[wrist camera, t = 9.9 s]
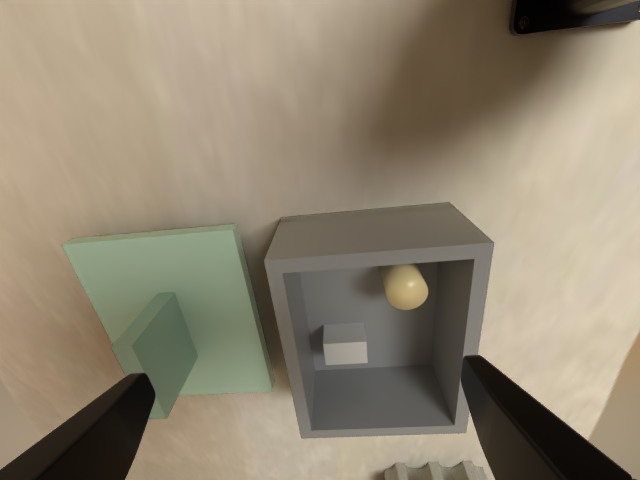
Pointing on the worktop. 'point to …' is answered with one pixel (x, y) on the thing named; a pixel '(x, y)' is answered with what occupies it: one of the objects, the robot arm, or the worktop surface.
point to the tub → (379, 317)
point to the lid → (177, 309)
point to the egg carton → (436, 472)
